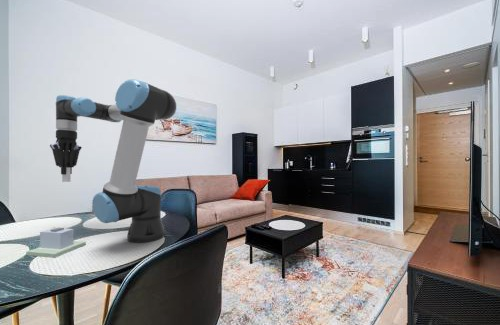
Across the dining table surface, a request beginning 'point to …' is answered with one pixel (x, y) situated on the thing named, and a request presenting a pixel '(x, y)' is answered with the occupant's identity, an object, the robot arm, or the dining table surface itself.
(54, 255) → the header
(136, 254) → the dining table surface
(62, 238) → the plug
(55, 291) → the dining table surface
